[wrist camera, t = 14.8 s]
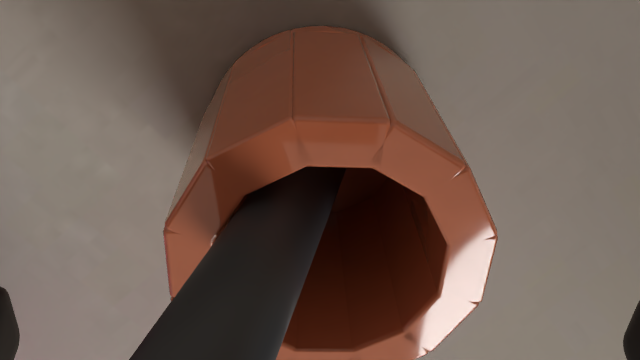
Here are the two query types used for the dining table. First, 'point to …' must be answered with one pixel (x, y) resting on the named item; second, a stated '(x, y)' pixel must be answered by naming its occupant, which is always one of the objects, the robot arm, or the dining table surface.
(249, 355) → the stylus
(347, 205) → the pen cup
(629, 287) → the dining table surface
